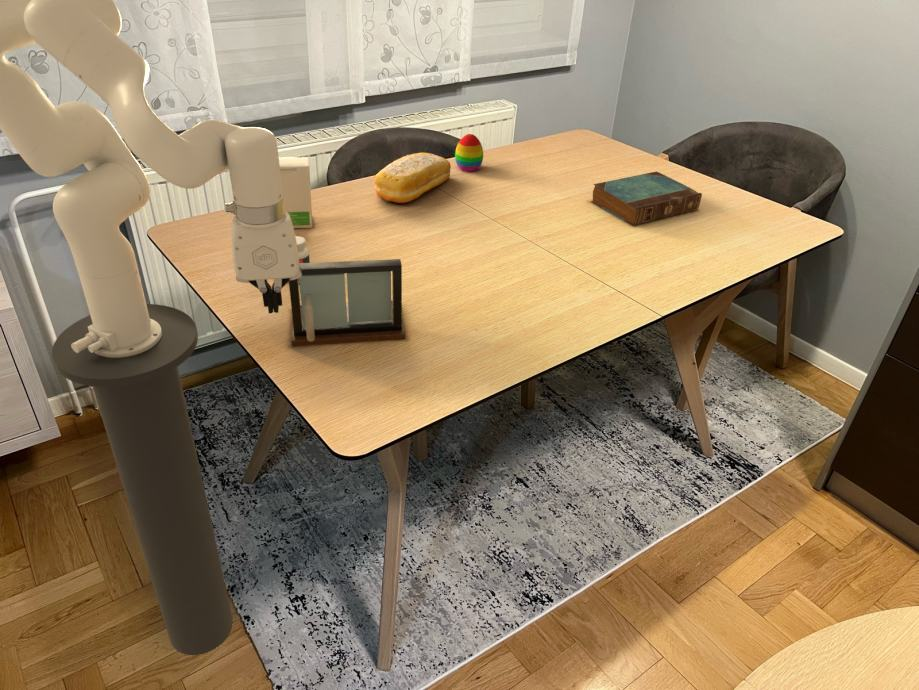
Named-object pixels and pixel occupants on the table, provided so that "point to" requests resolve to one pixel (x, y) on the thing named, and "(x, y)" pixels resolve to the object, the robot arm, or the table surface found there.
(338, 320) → the pane
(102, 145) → the robot arm
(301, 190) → the cosmetic box
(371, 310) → the window frame
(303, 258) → the pill bottle
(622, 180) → the book
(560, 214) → the table surface
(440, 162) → the bread
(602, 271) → the table surface
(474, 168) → the decorative egg
